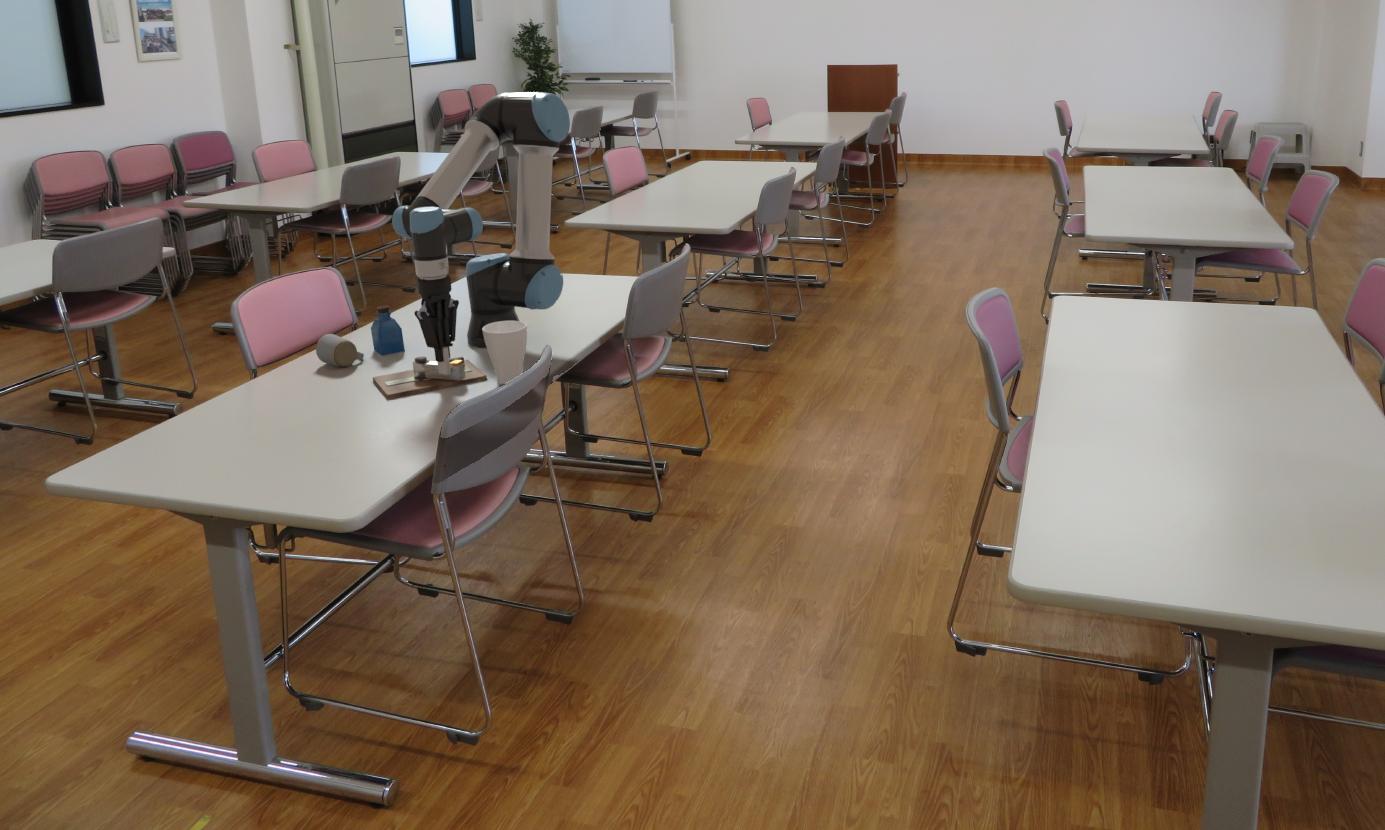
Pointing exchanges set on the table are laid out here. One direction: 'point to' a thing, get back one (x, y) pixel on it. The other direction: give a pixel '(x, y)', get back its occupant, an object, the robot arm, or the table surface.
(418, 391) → the lock board
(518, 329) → the cup
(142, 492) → the table surface
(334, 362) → the ceramic mug
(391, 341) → the perfume bottle
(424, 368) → the swing bar
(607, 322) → the table surface
